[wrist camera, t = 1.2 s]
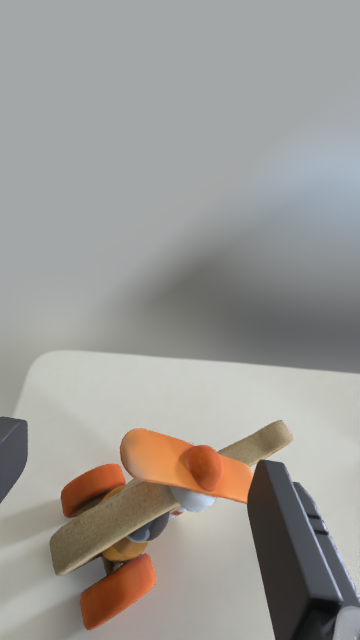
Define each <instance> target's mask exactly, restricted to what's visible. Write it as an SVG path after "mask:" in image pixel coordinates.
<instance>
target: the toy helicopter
mask: <svg viewBox="0 0 360 640" xmlns="http://www.w3.org/2000/svg"><path fill="white" fill-rule="evenodd" d="M292 441H293V436H292V434H291V433H290V431H289V430H288V428H287V427H286V425H285V424H284V422H283V421H282V420H278V421H276V422H273V423H271V424H269V425H267V426H266V427H264V428H262V429H260V430H259V431H257V432H255V433H254V434H252V435H250V436H248V437H246V438H244V439H242V440H240V441H238V442H236V443H234V444H232V445H230V446H228V447H226V448H224V449H222V450H220V451H218V452H216V451H215V450H214V449H213V448H212V447H210V446H207V445H196V444H193V443H187V442H185V441H182V440H179V439H176V438H173V437H170V436H166V435H163V434H159V433H156V432H153V431H149V430H146V429H133V430H131V431H129V432H128V433H127V434H126V435H125V436H124V438H123V439H122V442H121V445H120V455H121V461H122V464H123V466H124V468H125V469H126V471H127V472H128V473H129V474H130V475H131V476H132V477H133V478H135V479H133V480H131V481H130V482H129V483H128V484H127V485H125V479H124V476H123V473H122V470H121V467H120V466H119V465H118V464H107V465H102V466H99V467H97V468H95V469H92V470H90V471H88V472H86V473H84V474H82V475H80V476H79V477H77V478H75V479H74V480H72V481H71V482H70V483H68V484H67V485H66V486H65V487H64V489H63V490H62V492H61V502H62V508H63V513H64V515H65V516H66V517H68V518H72V517H76V516H77V517H76V518H74V519H73V520H72V521H70V522H69V523H67V524H66V525H64V526H63V527H61V528H60V529H59V530H58V531H57V532H56V533H55V534H54V535H53V536H52V537H51V539H50V549H51V554H52V560H53V566H54V570H55V573H56V574H57V575H58V576H62V575H65V574H67V573H70V572H72V571H73V570H75V569H77V568H79V567H81V566H83V565H85V564H86V563H88V562H90V561H92V560H94V559H96V558H98V557H100V556H101V557H102V560H103V563H104V567H105V570H106V574H107V576H106V577H104V578H103V579H101V580H100V581H98V582H97V583H95V584H94V585H92V586H91V587H89V588H88V589H86V590H85V591H84V592H83V593H82V594H81V599H80V604H81V609H82V615H83V622H84V625H85V628H86V629H87V630H92V629H94V628H96V627H98V626H100V625H101V624H103V623H104V622H106V621H108V620H109V619H111V618H112V617H114V616H115V615H117V614H118V613H120V612H121V611H123V610H124V609H126V608H127V607H128V606H130V605H131V604H132V603H134V602H135V601H136V600H138V599H139V598H140V597H142V596H143V595H144V594H145V593H147V592H148V591H149V590H150V589H151V588H152V587H153V586H154V585H155V582H156V576H155V571H154V568H153V565H152V562H151V559H150V556H149V555H147V554H146V553H145V554H140V553H141V552H142V551H143V550H144V549H145V547H146V546H147V544H148V542H149V541H151V540H153V539H155V538H156V537H157V536H159V535H160V533H161V532H162V531H163V530H164V528H165V526H166V524H167V522H168V519H173V518H175V517H176V516H178V515H180V514H181V513H183V512H185V511H186V510H188V511H191V512H200V511H202V510H204V509H206V508H207V507H209V506H210V505H212V504H213V503H214V501H215V500H216V498H217V497H222V498H226V499H231V500H234V501H237V502H241V503H244V504H247V496H248V491H249V488H250V485H251V482H252V478H253V475H254V472H253V471H252V470H251V468H250V467H251V466H252V465H254V464H257V463H258V461H259V460H260V459H263V460H264V459H266V458H267V457H269V456H270V455H272V454H274V453H275V452H277V451H278V450H280V449H282V448H283V447H285V446H286V445H288V444H289V443H291V442H292ZM121 563H124V564H123V565H121ZM120 565H121V566H120Z"/></svg>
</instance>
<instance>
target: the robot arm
mask: <svg viewBox="0 0 360 640" xmlns="http://www.w3.org/2000/svg"><path fill="white" fill-rule="evenodd" d="M27 457H28V425H27V421H26V420H21V419H15V418H9V417H0V503H1V502H2V501H3V499H4V498H5V496H6V495H7V494H8V492H9V491H10V489H11V488H12V487H13V485H14V484H15V483H16V481H17V480H18V478H19V477H20V475H21V474H22V472H23V470H24V468H25V465H26V462H27ZM247 510H248V516H249V521H250V525H251V530H252V534H253V539H254V544H255V548H256V553H257V557H258V562H259V567H260V571H261V576H262V580H263V585H264V589H265V594H266V599H267V603H268V608H269V612H270V617H271V622H272V626H273V631H274V635H275V640H360V596H359V594H358V592H357V590H356V587H355V585H354V583H353V581H352V579H351V577H350V575H349V573H348V571H347V569H346V567H345V565H344V563H343V561H342V559H341V556H340V554H339V552H338V550H337V548H336V546H335V544H334V542H333V540H332V538H331V536H329V532H328V530H327V528H326V525H325V523H324V521H323V520H321V515H320V513H319V511H318V509H317V507H316V505H315V503H314V501H313V499H312V497H311V496H310V495H309V494H308V493H307V491H306V490H305V489H304V488H303V487H302V486H301V484H300V483H297V482H292V480H291V478H290V476H289V473H288V471H287V469H286V467H285V465H284V464H283V463H282V462H275V461H269V460H263V459H260V460H259V461H258V463H257V466H256V469H255V472H254V475H253V478H252V482H251V485H250V488H249V491H248V496H247Z"/></svg>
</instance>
